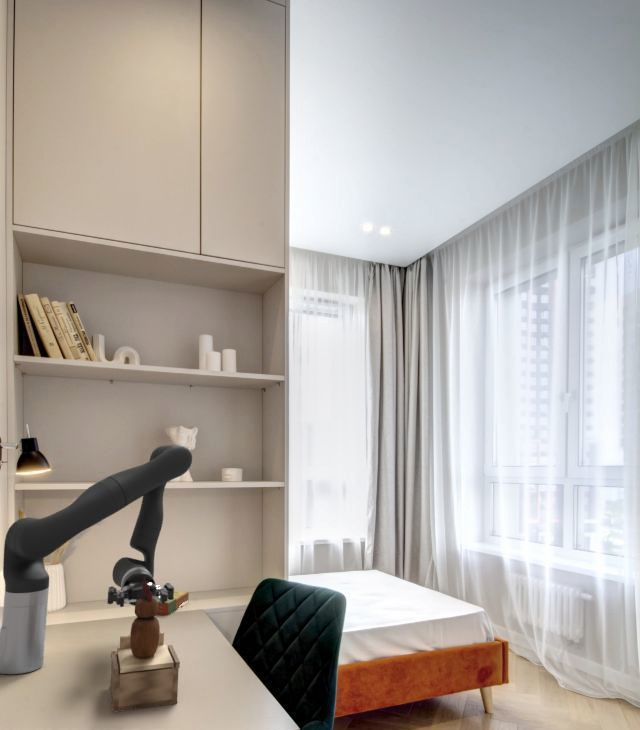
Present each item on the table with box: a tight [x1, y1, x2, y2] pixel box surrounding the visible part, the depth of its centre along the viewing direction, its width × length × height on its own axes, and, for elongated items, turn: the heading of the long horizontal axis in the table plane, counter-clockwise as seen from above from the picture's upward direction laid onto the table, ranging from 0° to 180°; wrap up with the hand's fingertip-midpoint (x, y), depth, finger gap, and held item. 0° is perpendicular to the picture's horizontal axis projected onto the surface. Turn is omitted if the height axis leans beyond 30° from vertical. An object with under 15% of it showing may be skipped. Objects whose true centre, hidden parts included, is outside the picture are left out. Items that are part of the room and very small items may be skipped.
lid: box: [116, 631, 174, 673], centre depth 122 cm, size 10×13×3 cm
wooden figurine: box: [129, 578, 161, 658], centre depth 122 cm, size 7×6×15 cm
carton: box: [155, 590, 190, 616], centre depth 190 cm, size 8×16×4 cm, turn 170°
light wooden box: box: [109, 644, 181, 713], centre depth 121 cm, size 12×13×8 cm
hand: (143, 600), depth 128 cm, fingers open, 8 cm apart
